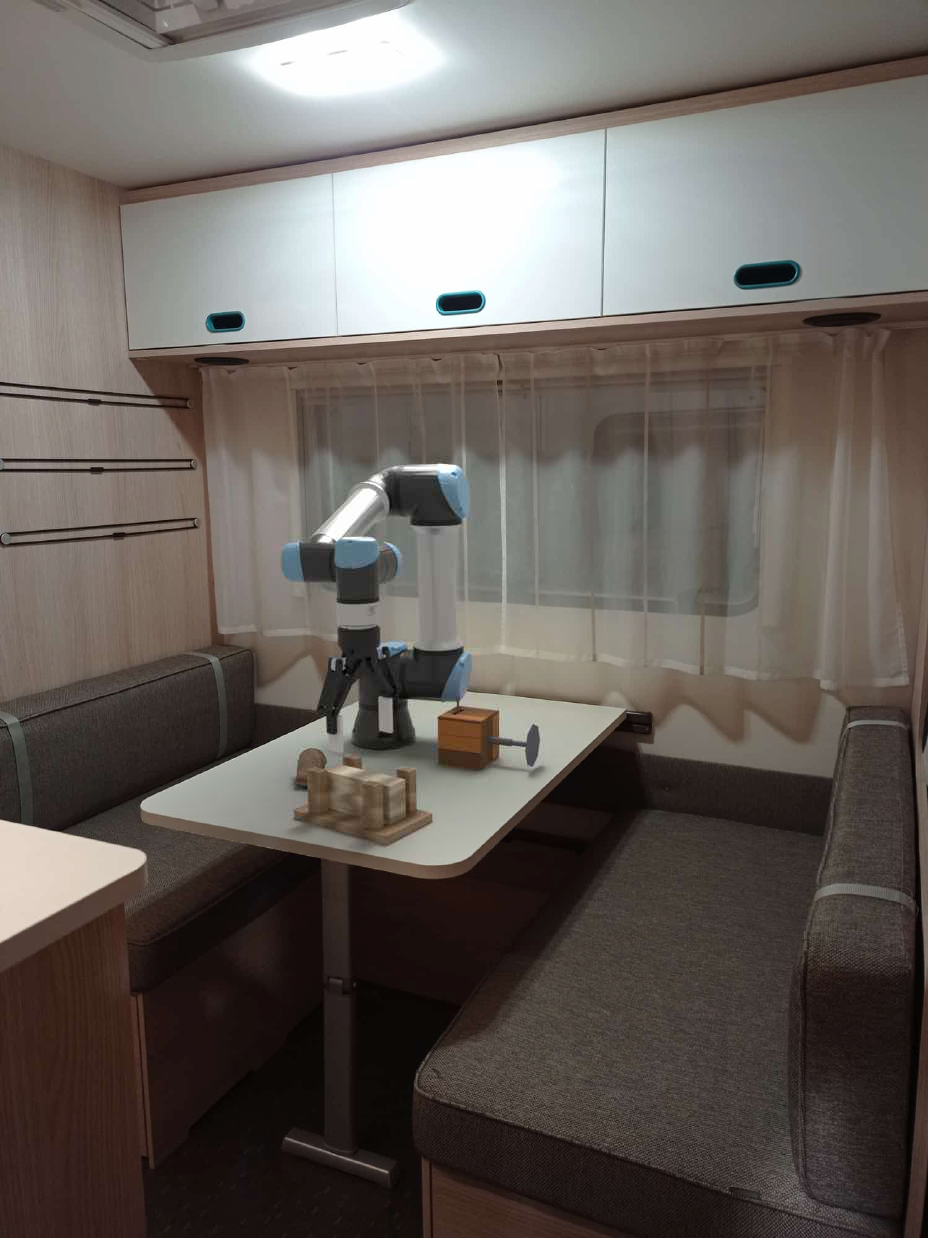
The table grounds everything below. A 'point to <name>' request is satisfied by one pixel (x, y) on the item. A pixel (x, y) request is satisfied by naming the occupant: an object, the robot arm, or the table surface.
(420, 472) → the robot arm
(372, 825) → the wooden block assembly
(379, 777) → the cream wooden block
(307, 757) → the pipe
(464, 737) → the wooden box with plunger
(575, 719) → the table surface
